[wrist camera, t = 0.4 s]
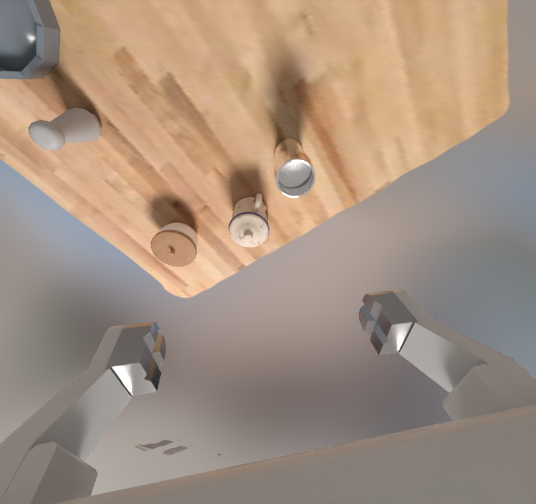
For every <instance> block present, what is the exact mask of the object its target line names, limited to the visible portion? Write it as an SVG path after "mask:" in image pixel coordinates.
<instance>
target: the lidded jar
mask: <svg viewBox="0 0 536 504" xmlns="http://www.w3.org/2000/svg"><path fill="white" fill-rule="evenodd" d="M198 244H199V243H198V237H197V234H196V233H195V231H194V230H193V229H192V228H191V227H190V226H188V225H186V224H183V223H178V222H176V223H170V224H167V225H165V226H164V227H162V228H161V229H160V230H159V231H158V233H157V234H156V235H155V236H154V237H153V239H152V241H151V249H152V251H153V253H154V255H155V256H156V257H157V258H158V259H159V260H160V261H162V262H163V263H165V264H168V265H171V266H178V267H180V266H186V265H188V264H190V263H192V262H193V261H194V259H195V257H196V254H197V250H198Z"/></svg>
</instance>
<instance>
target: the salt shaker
mask: <svg viewBox="0 0 536 504" xmlns="http://www.w3.org/2000/svg"><path fill="white" fill-rule="evenodd" d="M101 127H102V125H101V123H100V122H99V120H98V118H97V117H96V115H94V114H92V113H90V112H88V111H87V110H85V109H81V108H77V107H75V108H72V109H69V110H68V111H66V112H64V113H63V114H61V115H60V116H58V117H57V118H55V119H54V120H52V121H51V122H48V121H44V120H39V121H36V122H33V123H31V124H30V126H29V128H28V129H29V134H30V136H31V138H32V140H33V141H34V142H35V143H36V144H37V145H38V146H40V147H42V148H44V149H45V150H51V151H53V150H58V149H61V148H62V147H63V146H64V144H65V143H75V142H92V141H95V140H97V139H98V138H99V136H100V134H101Z"/></svg>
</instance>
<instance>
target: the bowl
mask: <svg viewBox="0 0 536 504" xmlns="http://www.w3.org/2000/svg"><path fill="white" fill-rule="evenodd" d="M59 44H60V28H59V25H58V23H57V20H56V17H55V15H54V12H53V10H52V7H51V4H50V2H49V0H0V78H3V79H42V78H43V77H44V76H45V75H46V74H47V73H48V72H49V71H50V70H51V69H52V68H53V67H54V66H55V65H56V64H57V63H58V62H59Z"/></svg>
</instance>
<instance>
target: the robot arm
mask: <svg viewBox="0 0 536 504" xmlns="http://www.w3.org/2000/svg"><path fill="white" fill-rule="evenodd" d="M363 302H364V305H363V306H362V307H361V308H360V311H359V320H360V323H361V325H362V328H363V329H364V331H366V332H367V333H369V334H370V335H371V337H370V341H371V343H372V344H373V346H374V348H375V350H376V351H377V353H378V355H384V354H392V353H399V352H400V353H399V354H400V355H402V356H403V357H404V358H406V359H407V360H408V361H410V362H411V363H412V364H413V365H415V366H416V367H417V368H419V369H420V370H421V371H422V372H424V373H425V374H426V375H427V376H429V377H430V378H431V379H433V380H434V381H435V382H436V383H438V384H439V385H440V386H442V387H443V388H444V389H445V390H447V391H448V392H449V393H450V394H449V395H448V396H447V397H446V399H445V400H444V401H443V407H444V408H445V410H446V411H447V413H448V414H449V416H450V417H451V418H452V420H453V421H450V422H445V423H440V424H436V425H431V426H426V427H421V428H416V429H411V430H407V431H402V432H397V433H392V434H387V435H383V436H378V437H373V438H368V439H363V440H359V441H354V442H349V443H344V444H339V445H334V446H330V447H325V448H321V449H315V450H311V451H305V452H301V453H296V454H291V455H286V456H281V457H277V458H272V459H267V460H262V461H257V462H252V463H248V464H243V465H238V466H233V467H228V468H224V469H219V470H214V471H209V472H204V473H199V474H195V475H190V476H185V477H180V478H175V479H171V480H166V481H161V482H156V483H151V484H147V485H142V486H137V487H133V488H127V489H122V490H118V491H113V492H108V493H103V494H98V495H93V496H91V493H92V490H93V487H94V484H95V481H96V477H97V472H96V470H95V469H94V468H93V467H91V466H90V465H88V464H87V463H85V462H84V461H85V459H86V458H87V457H88V455H89V454H90V453H91V451H92V450H93V449H94V447H95V446H96V445H97V443H98V442H99V441H100V439H101V438H102V437H103V435H104V434H105V433H106V431H107V430H108V429H109V427H110V426H111V425H112V423H113V422H114V421H115V419H116V418H117V417H118V415H119V414H120V413H121V411H122V410H123V409H124V407H125V406H126V405H127V404H128V402H129V401H130V400H131V397H132V396H137V395H142V394H147V393H153V392H157V389H158V385H159V381H160V377H161V371H160V369H159V366H160V365H161V364H162V363H163V362H164V358H165V354H166V344H165V339H164V337H163V335H161V334H159V333H158V332H159V329H160V328H159V326H158V324H157V322H150V323H141V324H131V325H124V326H115V327H111V328H109V329H108V330H107V332H106V334H105V336H104V338H103V340H102V342H101V344H100V346H99V348H98V350H97V352H96V354H95V356H94V358H93V360H92V362H91V364H90V366H89V368H88V370H87V371H86V372H82V373H80V374H79V375H78V376H77V377H76V378H75V379H74V380H72V381H71V382H70V383H69V384H68V385H67V386H66V387H64V388H63V390H61V391H60V392H59V393H58V394H56V395H55V396H54V397H53V398H52V399H51V400H50V401H48V403H46V404H45V405H44V406H43V407H42V408H40V409H39V410H38V411H37V412H36V413H35V414H34V415H33V416H31V417H30V418H29V419H28V420H27V421H26V422H25V423H23V424H22V425H21V426H20V427H19V428H18V429H17V430H15V431H14V432H13V433H12V434H11V435H10V436H9V437H7V438H6V439H5V440H4V441H3V442H2V443H1V444H0V504H536V380H535V379H534V378H533V377H532V376H531V375H530V374H529V373H528V372H527V371H526V370H524V369H523V368H522V367H521V366H520V365H519V364H518V363H517V362H516V361H515V360H514V359H513V358H511V357H508V356H507V355H504V354H503V353H501V352H499V351H497V350H495V349H493V348H491V347H489V346H487V345H485V344H483V343H481V342H479V341H477V340H475V339H473V338H471V337H469V336H467V335H465V334H463V333H461V332H459V331H457V330H455V329H453V328H451V327H449V326H447V325H445V324H443V323H441V322H439V321H437V320H435V319H434V320H431V319H430V318H429V316H428V315H427V314H426V313H425V312H424V311H423V310H422V309H421V308H420V307H419V306H418V304H416V302H415V301H414V300H413V299H412V298H411V297H410V296H409V295H408V294H407V293H406V292H405V291H404V290H402V289H399V290H392V291H383V292H377V293H370V294H366V295H365V296H364V297H363Z"/></svg>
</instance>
